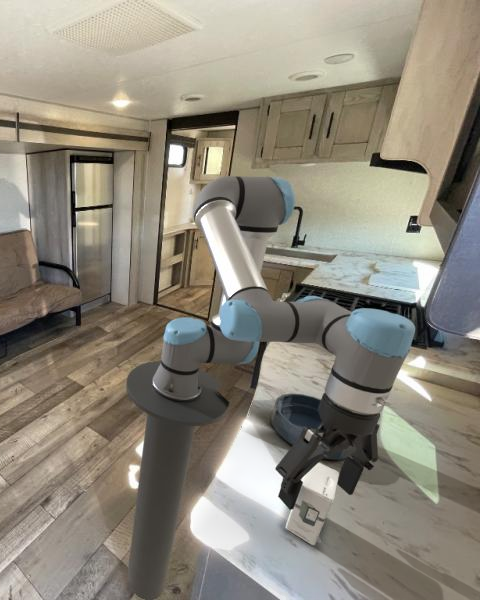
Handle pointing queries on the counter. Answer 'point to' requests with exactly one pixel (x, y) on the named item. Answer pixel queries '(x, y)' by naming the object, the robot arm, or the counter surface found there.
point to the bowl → (299, 419)
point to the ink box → (313, 503)
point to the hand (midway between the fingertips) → (315, 495)
